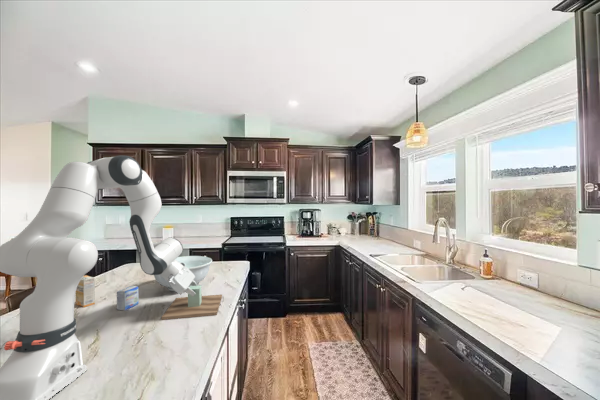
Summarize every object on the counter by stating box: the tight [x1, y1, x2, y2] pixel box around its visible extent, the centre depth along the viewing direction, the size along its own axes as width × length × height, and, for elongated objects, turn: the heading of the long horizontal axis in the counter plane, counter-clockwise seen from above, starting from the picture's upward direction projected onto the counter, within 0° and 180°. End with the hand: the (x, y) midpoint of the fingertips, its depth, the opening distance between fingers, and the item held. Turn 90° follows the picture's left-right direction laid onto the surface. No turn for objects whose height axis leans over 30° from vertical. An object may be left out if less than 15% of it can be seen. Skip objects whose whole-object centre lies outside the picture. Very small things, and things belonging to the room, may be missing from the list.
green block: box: [187, 284, 203, 307], centre depth 121 cm, size 5×5×8 cm
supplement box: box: [75, 274, 96, 308], centre depth 125 cm, size 8×5×13 cm, turn 62°
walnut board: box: [161, 294, 223, 321], centre depth 121 cm, size 22×22×1 cm
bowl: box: [153, 255, 213, 292], centre depth 150 cm, size 32×32×15 cm
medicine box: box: [116, 285, 140, 311], centre depth 122 cm, size 8×4×9 cm, turn 168°
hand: (196, 291), depth 121 cm, fingers open, 6 cm apart
